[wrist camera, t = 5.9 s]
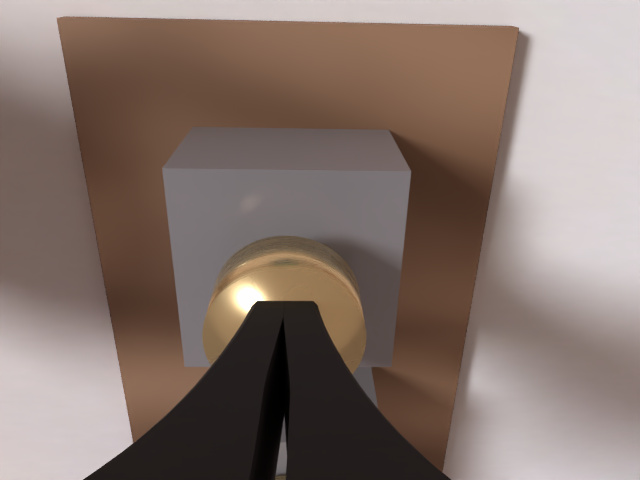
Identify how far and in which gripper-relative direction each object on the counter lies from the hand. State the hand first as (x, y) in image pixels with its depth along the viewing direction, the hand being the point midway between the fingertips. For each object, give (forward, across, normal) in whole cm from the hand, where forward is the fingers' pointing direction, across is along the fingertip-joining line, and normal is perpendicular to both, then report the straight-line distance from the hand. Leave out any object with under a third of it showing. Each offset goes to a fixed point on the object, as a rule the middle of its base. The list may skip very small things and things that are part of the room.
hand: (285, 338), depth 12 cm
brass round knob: (+5, 0, 0) cm, 5 cm away
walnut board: (+7, 0, +5) cm, 9 cm away
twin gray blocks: (+7, 0, +5) cm, 9 cm away
